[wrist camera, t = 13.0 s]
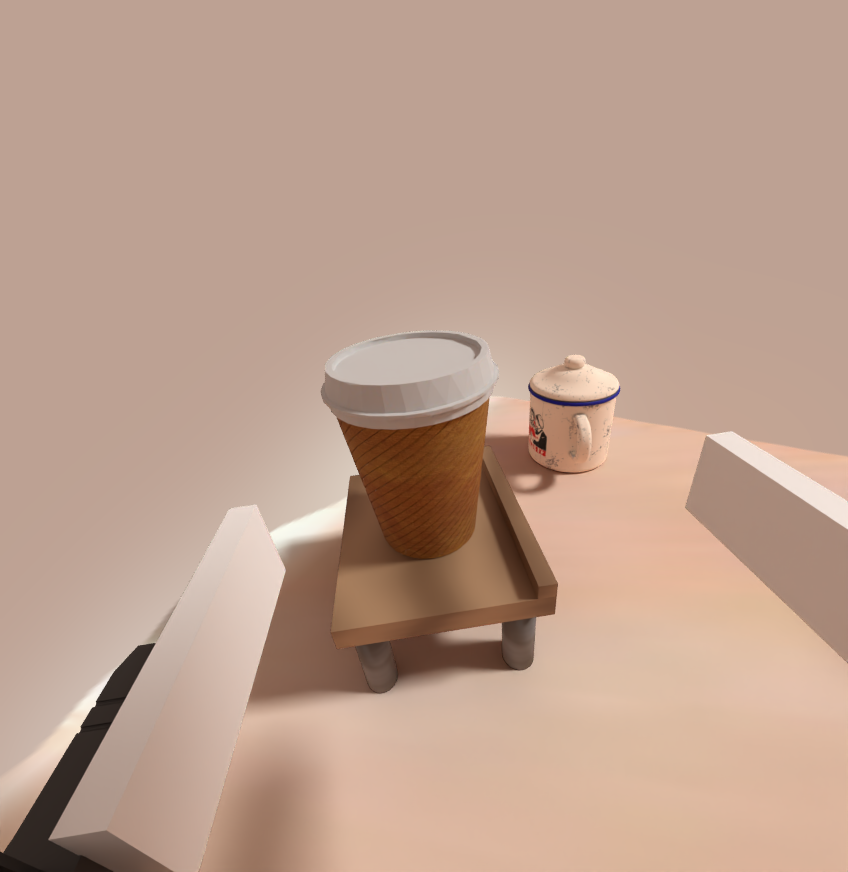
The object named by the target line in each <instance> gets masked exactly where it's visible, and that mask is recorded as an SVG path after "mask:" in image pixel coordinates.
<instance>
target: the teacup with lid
mask: <svg viewBox="0 0 848 872" xmlns="http://www.w3.org/2000/svg"><path fill="white" fill-rule="evenodd" d="M528 388H529V391H530V419H529V453H530V455H531V457H532V458H533V459H534V460H535V461H536V462H537V463H539V464H540V465H542V466H544V467H546V468H549V469H552V470H556V471H561V472H572V473H574V472H585V471H589V470H592V469H595V468H597V467H598V466H600V465H601V464H602V463H603V462H604V461H605V460H606V457H607V453H608V446H609V440H610V434H611V427H612V421H613V414H614V408H615V402H616V396H617V395H618V394H619V392H620V386H619V383H618V380H617V379H616V377H615V376H614V375H612V374H611V373H609V372H607V371H604V370H601V369H598V368H594V367H593V366H591V365H588V364H585V358H584V357H583V356H581V355H570V356H567V357H566V358H565V363H563V364H560V365H557V366H555V367H552V368H548V369H544V370H542V371H540V372H538V373H536V374H535V375H534V376H533V377H532V378H531V380H530V383H529V386H528Z"/></svg>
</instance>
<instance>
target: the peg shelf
mask: <svg viewBox="0 0 848 872" xmlns="http://www.w3.org/2000/svg"><path fill="white" fill-rule="evenodd" d="M557 587H558V583H557V581H556V579H555V577H554V575H553V573H552V571H551V569H550V567H549V565H548V563H547V561H546V559H545V557H544V555H543V552H542V550H541V548H540V546H539V544H538V542H537V540H536V538H535V536H534V534H533V532H532V530H531V528H530V526H529V524H528V522H527V520H526V518H525V516H524V514H523V512H522V510H521V508H520V506H519V504H518V502H517V500H516V498H515V496H514V493H513V491H512V489H511V487H510V485H509V483H508V481H507V479H506V477H505V475H504V473H503V471H502V469H501V467H500V465H499V463H498V461H497V459H496V457H495V455H494V453H493V451H492V449H491V447H490V446H484V452H483V461H482V470H481V479H480V487H479V496H478V505H477V514H476V524H475V530H474V532H473V534H472V536H471V538H470V539H469V540H468V542H467V543H466V544H464V545H463V546H462V547H461V548H460V549H458V550H456V551H454V552H453V553H451V554H448V555H445V556H442V557H437V558H431V559H419V558H413V557H409V556H406V555H403V554H401V553H399V552H397V551H395V550H394V549H393V548H392V547H391V546H390V545H389V543H388V542H387V541H386V539H385V537H384V535H383V532H382V530H381V527H380V524H379V522H378V519H377V517H376V515H375V512H374V510H373V507H372V505H371V502H370V500H369V497H368V495H367V492H366V489H365V487H364V485H363V482H362V480H361V477H360V475H355V476H350V481H349V489H348V497H347V505H346V513H345V521H344V529H343V537H342V545H341V553H340V561H339V569H338V577H337V585H336V592H335V600H334V608H333V616H332V624H331V635H332V638H333V640H334V643H335V645H336V648H337V649H341V648H347V647H354V646H355V647H356V650H357V653H358V656H359V659H360V662H361V665H362V668H363V670H364V673H365V676H366V679H367V682H368V685H369V687H370V689H371V690H373V691H374V692H376V693H384V692H387V691H389V690H390V689H391V688H392V687H393V686H394V685H395V683H396V681H397V678H398V671H397V667H396V664H395V660H394V656H393V652H392V648H391V644H390V641H391V640H397V639H403V638H410V637H416V636H422V635H428V634H434V633H441V632H447V631H453V630H459V629H465V628H472V627H478V626H484V625H490V624H496V623H502V655H503V658H504V661H505V662H506V663H507V664H508V665H509V666H510V667H511V668H513V669H516V670H524V669H527V668H528V667H529V666H530V665H531V664H532V662H533V657H534V641H535V625H536V617H540V616H546V615H552V614H555V607H556V597H557Z"/></svg>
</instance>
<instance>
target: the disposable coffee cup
mask: <svg viewBox="0 0 848 872" xmlns="http://www.w3.org/2000/svg"><path fill="white" fill-rule="evenodd" d="M498 377H499V370H498V367H497V365H496V364H495V363H494V362H493V361H492V358H491V354H490V350H489V346H488V344H487V343H486V342H485V341H484V340H483V339H481V338H479V337H477V336H474V335H471V334H467V333H462V332H454V331H415V332H405V333H399V334H393V335H387V336H383V337H377V338H373V339H370V340H366V341H363V342H360V343H357V344H354V345H352V346H349V347H347V348H345V349H342V350H341V351H339V352H338V353H336V354H334V355H333V356H332V357H331V358H330V359H329V360H328V361H327V362H326V363H325V383H324V384H323V386H322V389H321V395H322V399H323V401H324V403H325V404H326V405H327V406H328V407H329V408H330V409H331V412H332V413H333V414H334V415H335V416H336V417H337V419H338V422H339V424H340V427H341V429H342V432H343V435H344V437H345V440H346V442H347V445H348V447H349V449H350V452H351V454H352V457H353V459H354V462H355V465H356V467H357V470H358V472H359V475H360V477H361V480H362V482H363V485H364V487H365V489H366V492H367V495H368V497H369V500H370V502H371V505H372V507H373V510H374V512H375V515H376V517H377V519H378V522H379V524H380V527H381V530H382V532H383V535H384V537H385V539H386V541H387V542H388V543H389V545H390V546H391V547H392V548H393V549H394V550H395V551H397V552H399V553H401V554H403V555H406V556H409V557H413V558H419V559H431V558H437V557H442V556H445V555H448V554H451V553H453V552H454V551H456V550H458V549H460V548H461V547H462V546H463V545H464V544H466V543H467V542H468V540H469V539H470V538H471V536H472V534H473V532H474V530H475V524H476V514H477V505H478V496H479V487H480V479H481V470H482V461H483V452H484V443H485V434H486V424H487V415H488V406H489V397H490V396H491V394H492V392H493V388H494V386H495V384H496V382H497V380H498Z"/></svg>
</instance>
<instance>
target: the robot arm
mask: <svg viewBox="0 0 848 872" xmlns="http://www.w3.org/2000/svg"><path fill="white" fill-rule="evenodd" d="M685 508H686V509H687V510H688V511H689V512H690V513H691V514H692V515H693V516H694V517H695V518H696V519H697V520H698V521H699V522H700V523H702V524H703V525H704V526H705V527H706V528H707V529H708V530H709V531H710V532H711V533H712V534H713V535H714V536H715V537H716V538H717V539H718V540H719V541H720V542H721V543H722V544H724V545H725V546H726V547H727V548H728V549H729V550H730V551H731V552H732V553H733V554H734V555H735V556H736V557H737V558H738V559H739V560H740V561H741V562H742V563H743V564H744V565H745V566H747V567H748V568H749V569H750V570H751V571H752V572H753V573H754V574H755V575H756V576H757V577H758V578H759V579H760V580H761V581H762V582H763V583H764V584H765V585H766V586H767V587H769V588H770V589H771V590H772V591H773V592H774V593H775V594H776V595H777V596H778V597H779V598H780V599H781V600H782V601H783V602H784V603H785V604H786V605H787V606H788V607H789V608H791V609H792V610H793V611H794V612H795V613H796V614H797V615H798V616H799V617H800V618H801V619H802V620H803V621H804V622H805V623H806V624H807V625H808V626H809V627H810V628H811V629H813V630H814V631H815V632H816V633H817V634H818V635H819V636H820V637H821V638H822V639H823V640H824V641H825V642H826V643H827V644H828V645H829V646H830V647H831V648H832V649H833V650H835V651H836V652H837V653H838V654H839V655H840V656H841V657H842V658H843V659H844V660H845V661H846V662H847V663H848V501H846V500H845V499H843V498H841V497H840V496H838V495H837V494H835V493H833V492H832V491H830V490H828V489H827V488H825V487H823V486H822V485H820V484H818V483H817V482H815V481H813V480H812V479H810V478H808V477H807V476H805V475H803V474H802V473H800V472H798V471H797V470H795V469H793V468H792V467H790V466H789V465H787V464H785V463H784V462H782V461H780V460H779V459H777V458H775V457H774V456H772V455H770V454H769V453H767V452H765V451H764V450H762V449H760V448H759V447H757V446H755V445H754V444H752V443H750V442H749V441H747V440H745V439H744V438H742V437H740V436H739V435H737V434H735V433H734V432H725V433H718V434H712V435H706V438H705V441H704V445H703V448H702V452H701V455H700V458H699V462H698V465H697V469H696V472H695V475H694V479H693V482H692V486H691V489H690V492H689V496H688V499H687V503H686V506H685ZM285 572H286V569H285V567H284V565H283V563H282V560H281V558H280V556H279V554H278V551H277V549H276V547H275V545H274V543H273V540H272V538H271V536H270V534H269V531H268V529H267V527H266V525H265V523H264V521H263V518H262V516H261V514H260V512H259V509H258V507H257V505H250V506H243V507H236V508H230V509H229V510H228V512H227V514H226V516H225V518H224V520H223V521H222V523H221V525H220V527H219V529H218V531H217V532H216V535H215V536H214V538H213V540H212V542H211V543H210V545H209V547H208V549H207V551H206V553H205V554H204V556H203V558H202V560H201V562H200V563H199V565H198V567H197V569H196V571H195V573H194V574H193V576H192V578H191V580H190V582H189V584H188V585H187V587H186V589H185V591H184V593H183V595H182V596H181V598H180V600H179V602H178V604H177V605H176V607H175V609H174V611H173V613H172V615H171V616H170V618H169V620H168V622H167V624H166V626H165V627H164V629H163V631H162V633H161V635H160V637H159V638H158V640H157V642H156V643H153V644H146V645H140V646H138V647H137V648H136V649H135V650H134V651H133V652H132V653H131V654H130V655H129V656H128V657H127V658H126V659H125V661H124V662H123V663H122V664H121V665H120V666H119V667H118V668H117V669H116V670H115V671H114V673H113V674H112V676H111V677H110V679H109V681H108V682H107V684H106V686H105V687H104V689H103V691H102V692H101V694H100V696H99V697H98V699H97V701H96V706H95V707H93V708H92V709H91V711H90V712H89V714H88V715H87V717H86V719H85V720H84V722H83V724H82V725H81V731H80V732H79V733H77V734H76V735H75V737H74V739H73V740H72V742H71V744H70V745H69V747H68V749H67V750H66V752H65V753H64V755H63V757H62V758H61V760H60V762H59V763H58V765H57V767H56V768H55V770H54V772H53V773H52V775H51V777H50V778H49V780H48V782H47V783H46V785H45V787H44V788H43V790H42V791H41V793H40V795H39V796H38V798H37V800H36V801H35V803H34V805H33V806H32V808H31V810H30V811H29V813H28V815H27V816H26V818H25V820H24V821H23V823H22V824H21V826H20V828H19V829H18V831H17V833H16V834H15V836H14V838H13V839H12V841H11V842H10V844H9V845H8V847H7V848H6V849H5V851H4V852H3V853H2V852H0V872H199V870H200V867H201V863H202V860H203V856H204V853H205V849H206V846H207V842H208V839H209V835H210V832H211V828H212V825H213V821H214V818H215V815H216V811H217V808H218V804H219V801H220V797H221V794H222V790H223V787H224V783H225V780H226V776H227V773H228V769H229V766H230V762H231V759H232V755H233V752H234V749H235V745H236V742H237V738H238V735H239V731H240V728H241V724H242V721H243V717H244V714H245V710H246V707H247V703H248V700H249V696H250V693H251V690H252V686H253V683H254V679H255V676H256V672H257V669H258V665H259V662H260V658H261V655H262V651H263V648H264V644H265V641H266V637H267V634H268V631H269V627H270V624H271V620H272V617H273V613H274V610H275V606H276V603H277V599H278V596H279V592H280V589H281V585H282V582H283V578H284V575H285Z"/></svg>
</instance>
